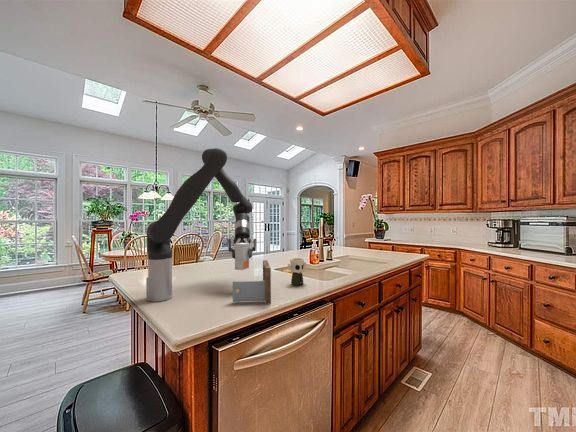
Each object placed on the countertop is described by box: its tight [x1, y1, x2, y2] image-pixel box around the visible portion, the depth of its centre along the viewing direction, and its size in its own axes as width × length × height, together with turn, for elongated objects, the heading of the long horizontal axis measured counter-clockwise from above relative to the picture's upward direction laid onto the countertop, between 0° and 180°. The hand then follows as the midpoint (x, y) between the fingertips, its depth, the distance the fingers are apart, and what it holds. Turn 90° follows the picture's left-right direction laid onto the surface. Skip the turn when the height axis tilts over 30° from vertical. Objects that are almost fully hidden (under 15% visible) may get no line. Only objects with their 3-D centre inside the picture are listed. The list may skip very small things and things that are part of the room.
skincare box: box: [234, 243, 250, 271], centre depth 121 cm, size 6×4×12 cm
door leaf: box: [232, 280, 266, 303], centre depth 104 cm, size 3×14×8 cm, turn 94°
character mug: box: [287, 257, 307, 286], centre depth 132 cm, size 11×7×13 cm, turn 119°
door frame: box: [262, 259, 272, 305], centre depth 112 cm, size 2×19×14 cm, turn 9°
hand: (242, 257), depth 120 cm, fingers closed on skincare box, 6 cm apart
